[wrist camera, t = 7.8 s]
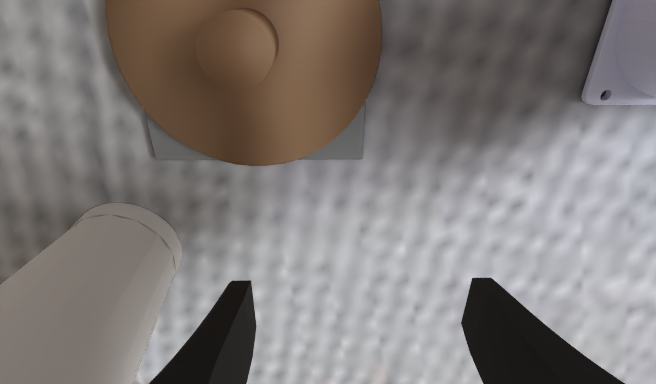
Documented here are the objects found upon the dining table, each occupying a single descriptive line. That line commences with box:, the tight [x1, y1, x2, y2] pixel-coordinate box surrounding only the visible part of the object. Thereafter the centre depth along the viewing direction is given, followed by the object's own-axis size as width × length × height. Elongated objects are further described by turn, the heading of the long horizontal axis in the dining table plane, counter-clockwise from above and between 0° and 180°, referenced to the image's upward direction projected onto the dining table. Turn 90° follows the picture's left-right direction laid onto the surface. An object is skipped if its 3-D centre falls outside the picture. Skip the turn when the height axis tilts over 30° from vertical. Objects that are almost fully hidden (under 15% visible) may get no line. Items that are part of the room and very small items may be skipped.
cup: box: [0, 203, 182, 384], centre depth 18 cm, size 8×8×12 cm
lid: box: [105, 0, 382, 166], centre depth 16 cm, size 12×12×4 cm
